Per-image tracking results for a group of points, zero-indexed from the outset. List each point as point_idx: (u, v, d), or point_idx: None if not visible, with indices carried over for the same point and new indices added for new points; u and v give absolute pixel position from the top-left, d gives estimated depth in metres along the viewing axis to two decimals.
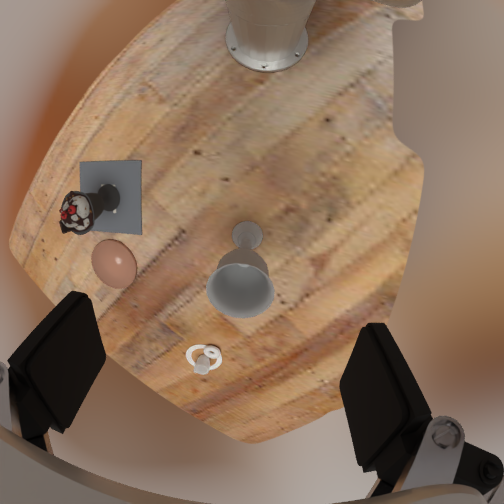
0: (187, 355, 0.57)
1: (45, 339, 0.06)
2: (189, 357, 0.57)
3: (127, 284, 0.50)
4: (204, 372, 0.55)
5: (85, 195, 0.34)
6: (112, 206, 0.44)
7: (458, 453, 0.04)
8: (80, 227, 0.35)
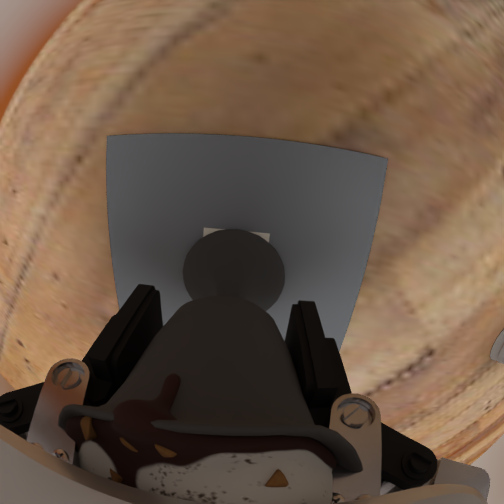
0: None
1: (126, 331, 0.07)
2: None
3: None
4: None
5: (313, 437, 0.03)
6: None
7: (377, 428, 0.05)
8: None
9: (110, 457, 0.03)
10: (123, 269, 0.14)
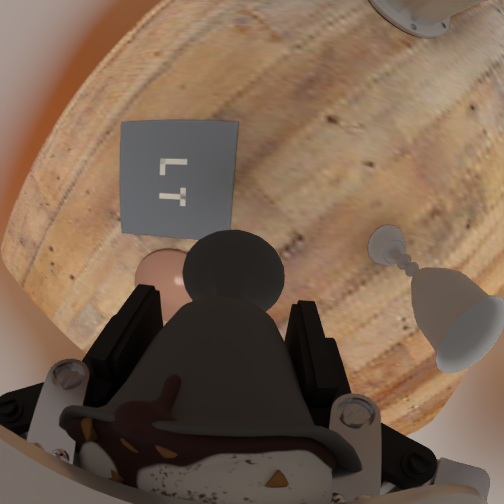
0: None
1: (126, 331, 0.07)
2: None
3: None
4: None
5: (313, 437, 0.03)
6: None
7: (377, 428, 0.05)
8: None
9: (111, 458, 0.03)
10: (124, 181, 0.28)
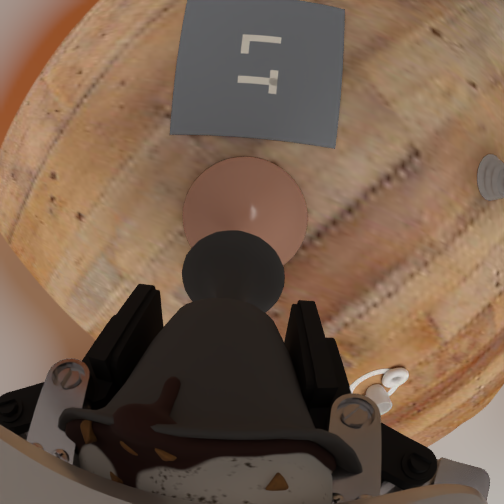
0: None
1: (126, 331, 0.07)
2: None
3: None
4: None
5: (313, 440, 0.03)
6: None
7: (377, 428, 0.05)
8: None
9: (110, 460, 0.03)
10: (184, 62, 0.18)
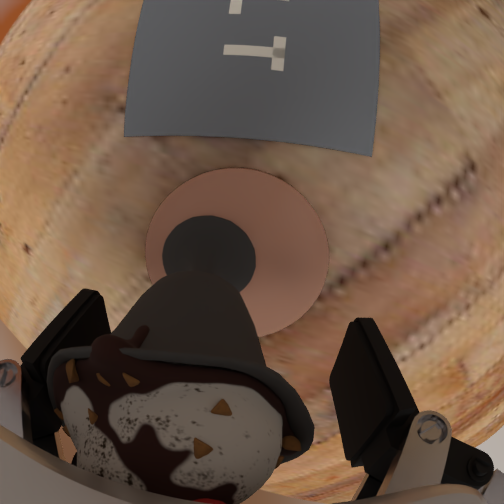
0: None
1: (59, 336, 0.06)
2: None
3: (279, 325, 0.16)
4: None
5: (255, 374, 0.05)
6: None
7: (445, 447, 0.04)
8: None
9: (89, 397, 0.04)
10: (147, 31, 0.10)
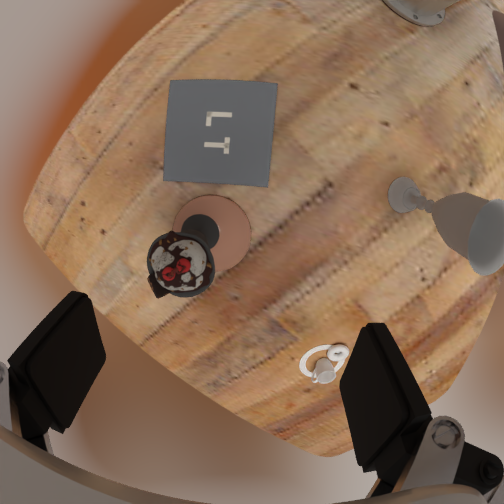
0: (301, 361, 0.43)
1: (45, 339, 0.06)
2: (303, 364, 0.44)
3: (232, 264, 0.36)
4: (326, 381, 0.41)
5: (199, 240, 0.25)
6: None
7: (458, 453, 0.04)
8: (188, 288, 0.25)
9: (163, 247, 0.24)
10: (170, 132, 0.31)
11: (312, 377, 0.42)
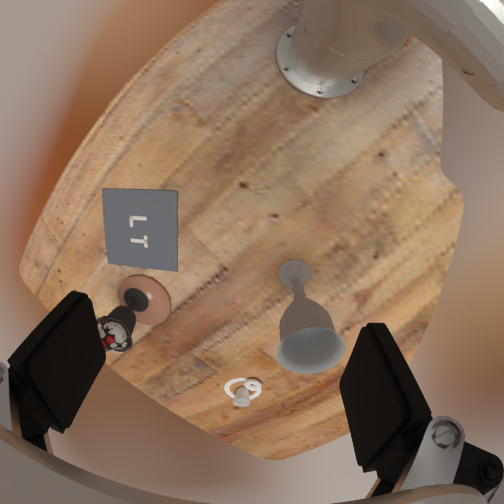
0: (225, 387, 0.55)
1: (45, 339, 0.06)
2: (227, 389, 0.55)
3: (160, 321, 0.47)
4: (244, 404, 0.52)
5: (120, 322, 0.36)
6: (141, 308, 0.46)
7: (458, 452, 0.04)
8: (118, 348, 0.36)
9: (101, 324, 0.35)
10: (107, 229, 0.41)
11: (234, 400, 0.54)
